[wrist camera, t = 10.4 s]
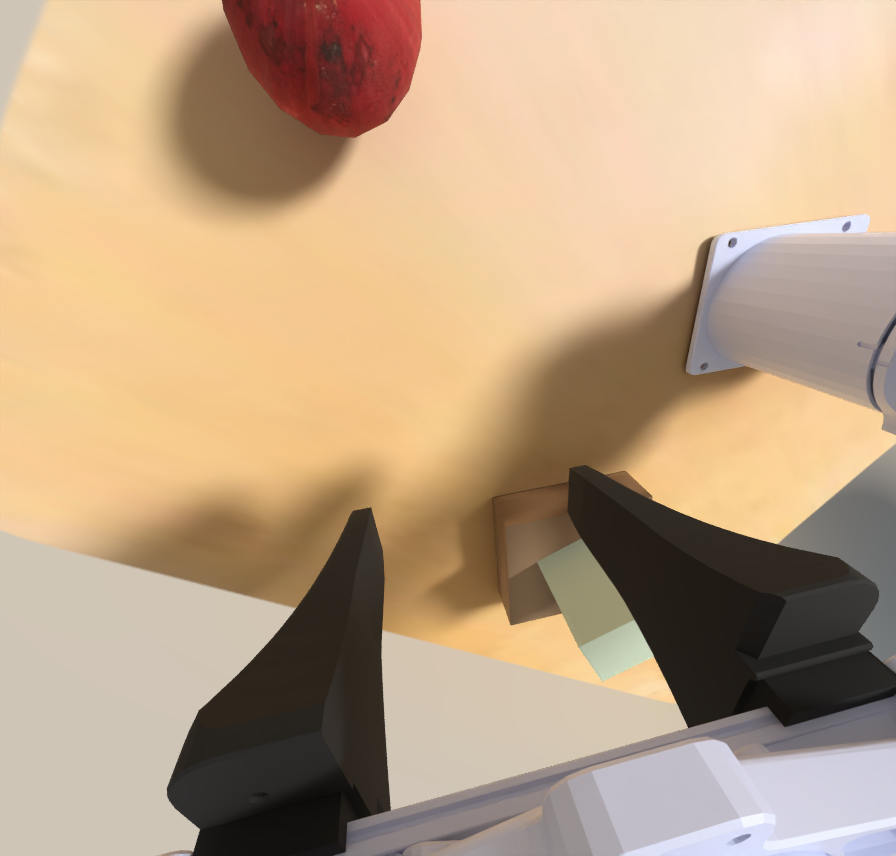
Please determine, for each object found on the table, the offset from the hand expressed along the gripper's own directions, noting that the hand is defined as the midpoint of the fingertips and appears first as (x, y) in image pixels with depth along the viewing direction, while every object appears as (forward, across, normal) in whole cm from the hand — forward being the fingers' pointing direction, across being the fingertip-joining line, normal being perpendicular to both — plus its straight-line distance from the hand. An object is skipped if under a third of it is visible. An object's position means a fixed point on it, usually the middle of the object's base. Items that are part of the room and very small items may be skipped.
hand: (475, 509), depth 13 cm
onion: (+10, +2, -15) cm, 18 cm away
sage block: (+7, -8, +13) cm, 17 cm away
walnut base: (+10, -8, +13) cm, 18 cm away
